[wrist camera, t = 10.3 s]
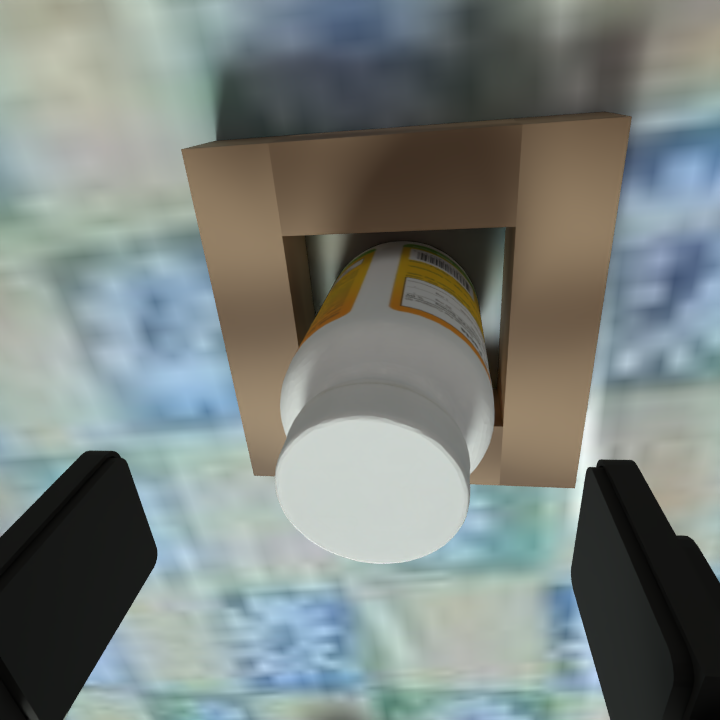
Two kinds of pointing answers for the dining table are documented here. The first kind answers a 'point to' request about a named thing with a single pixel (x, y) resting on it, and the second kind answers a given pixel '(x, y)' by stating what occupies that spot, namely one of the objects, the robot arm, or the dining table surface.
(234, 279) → the frame
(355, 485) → the supplement bottle
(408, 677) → the dining table surface
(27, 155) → the dining table surface
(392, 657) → the dining table surface
